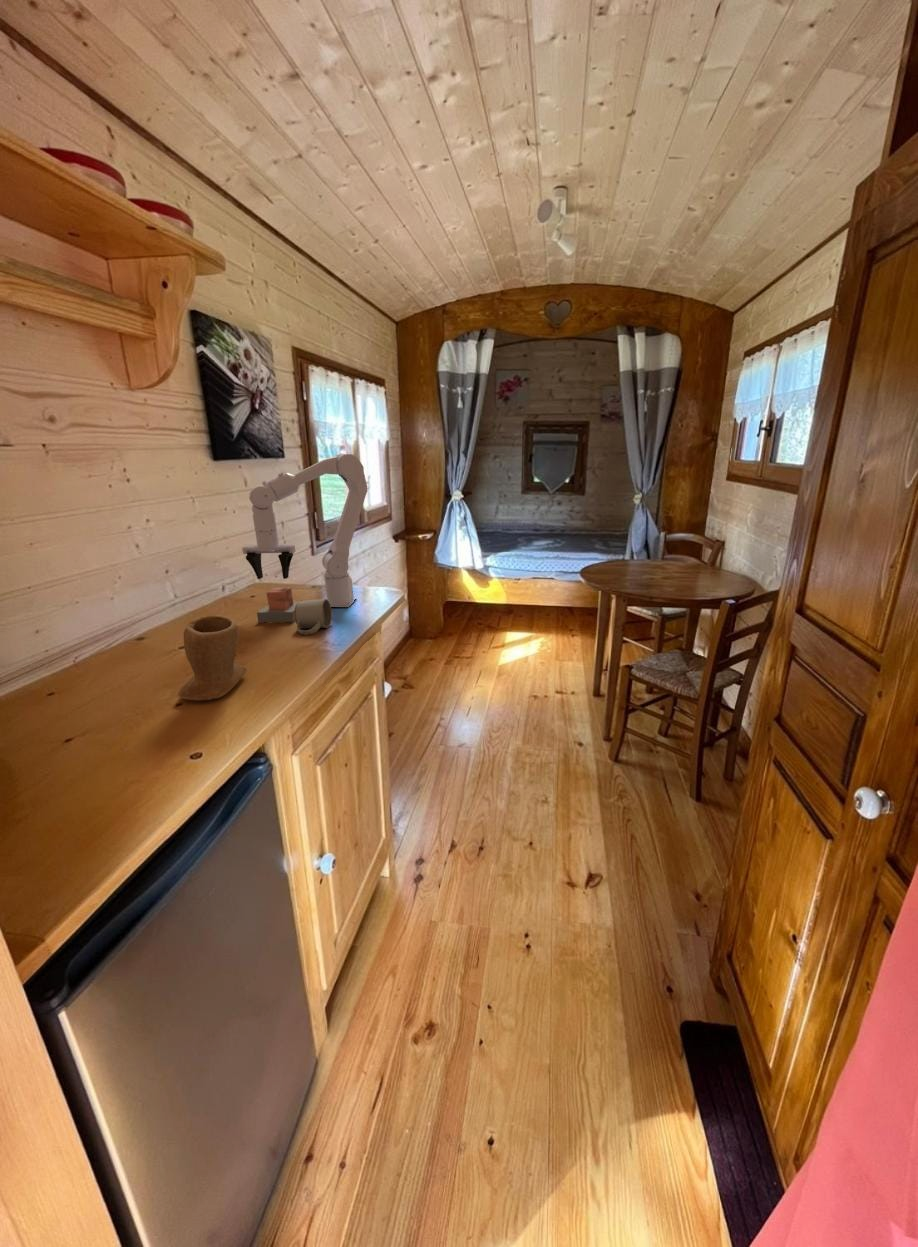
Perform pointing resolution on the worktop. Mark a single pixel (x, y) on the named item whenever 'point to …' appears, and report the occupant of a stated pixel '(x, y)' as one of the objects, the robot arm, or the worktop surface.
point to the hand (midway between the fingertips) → (273, 578)
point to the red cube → (279, 598)
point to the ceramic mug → (312, 615)
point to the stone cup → (211, 657)
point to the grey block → (276, 614)
